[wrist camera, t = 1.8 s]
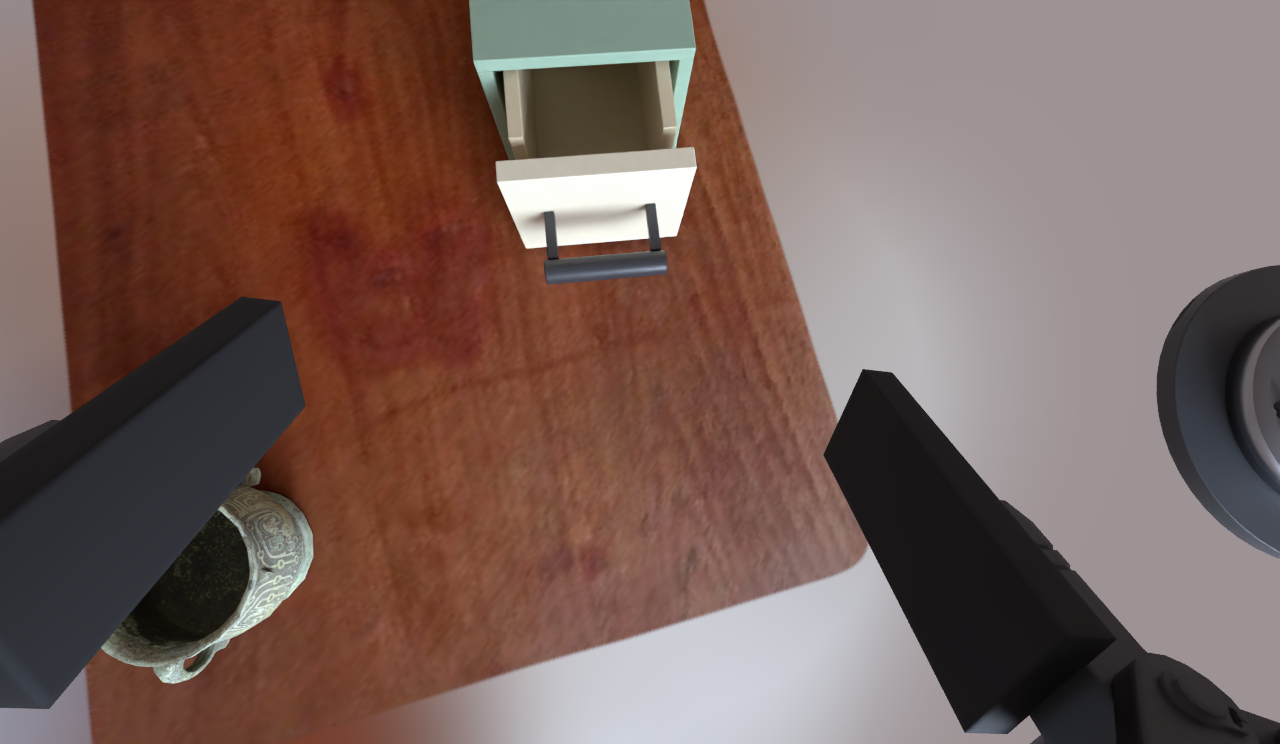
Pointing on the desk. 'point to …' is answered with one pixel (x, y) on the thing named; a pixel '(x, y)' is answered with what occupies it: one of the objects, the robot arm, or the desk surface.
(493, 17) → the cabinet
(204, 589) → the vessel
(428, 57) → the desk surface
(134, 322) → the desk surface
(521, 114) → the drawer
